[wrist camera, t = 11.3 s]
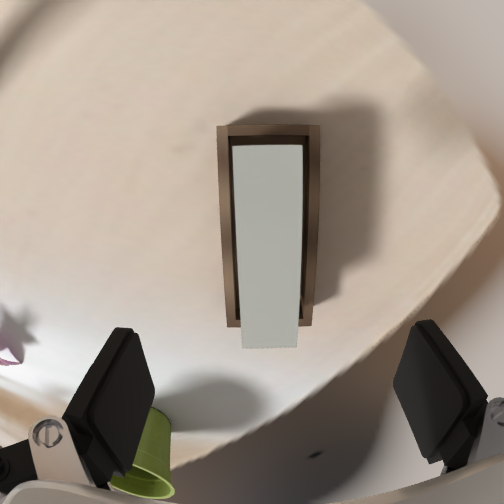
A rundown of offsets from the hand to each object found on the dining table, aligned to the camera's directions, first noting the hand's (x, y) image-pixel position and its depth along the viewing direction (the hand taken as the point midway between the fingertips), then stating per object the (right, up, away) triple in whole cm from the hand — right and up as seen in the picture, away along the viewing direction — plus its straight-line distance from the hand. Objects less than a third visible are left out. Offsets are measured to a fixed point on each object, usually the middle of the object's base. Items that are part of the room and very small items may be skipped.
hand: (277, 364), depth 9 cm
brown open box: (+1, +6, +17) cm, 18 cm away
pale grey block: (0, +6, +16) cm, 17 cm away
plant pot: (-16, -20, +28) cm, 38 cm away
